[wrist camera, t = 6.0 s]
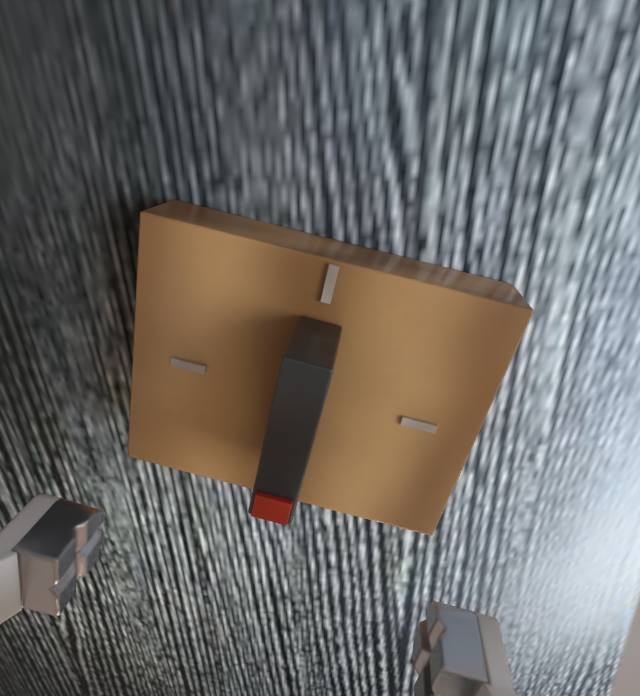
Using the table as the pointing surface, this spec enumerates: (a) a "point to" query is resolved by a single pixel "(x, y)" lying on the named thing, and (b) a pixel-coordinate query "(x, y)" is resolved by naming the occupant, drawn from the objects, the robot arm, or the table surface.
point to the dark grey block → (294, 418)
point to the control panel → (350, 366)
